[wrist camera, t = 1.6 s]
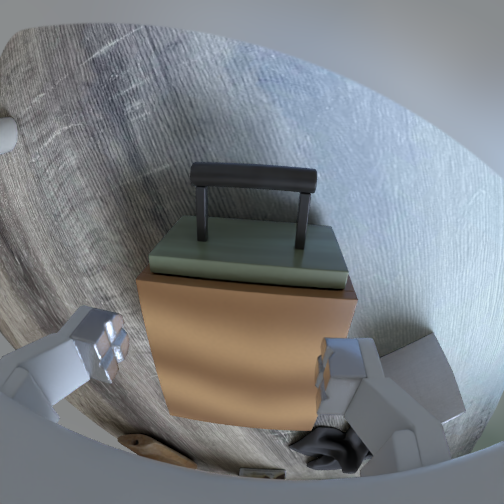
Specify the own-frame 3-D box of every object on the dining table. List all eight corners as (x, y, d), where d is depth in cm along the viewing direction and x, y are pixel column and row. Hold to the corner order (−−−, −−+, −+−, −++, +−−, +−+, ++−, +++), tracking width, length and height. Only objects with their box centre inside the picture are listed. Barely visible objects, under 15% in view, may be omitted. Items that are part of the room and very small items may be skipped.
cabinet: (179, 224, 24) (135, 279, 16) (335, 236, 23) (358, 299, 15) (191, 351, 30) (169, 415, 23) (308, 362, 29) (311, 431, 22)
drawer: (181, 152, 20) (139, 170, 14) (340, 161, 19) (365, 184, 13) (193, 342, 28) (174, 395, 22) (306, 354, 28) (309, 409, 22)
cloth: (318, 470, 44) (318, 496, 39) (268, 438, 38) (265, 472, 33) (428, 433, 37) (435, 461, 31) (411, 390, 31) (422, 427, 25)
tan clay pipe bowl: (214, 463, 45) (201, 527, 32) (171, 464, 49) (155, 520, 36) (159, 427, 40) (134, 502, 27) (119, 430, 44) (94, 491, 31)
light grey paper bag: (379, 358, 28) (398, 434, 20) (433, 332, 26) (466, 403, 17) (386, 375, 30) (403, 446, 21) (437, 351, 28) (465, 418, 19)
